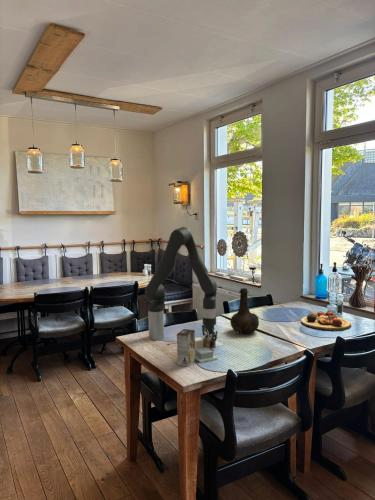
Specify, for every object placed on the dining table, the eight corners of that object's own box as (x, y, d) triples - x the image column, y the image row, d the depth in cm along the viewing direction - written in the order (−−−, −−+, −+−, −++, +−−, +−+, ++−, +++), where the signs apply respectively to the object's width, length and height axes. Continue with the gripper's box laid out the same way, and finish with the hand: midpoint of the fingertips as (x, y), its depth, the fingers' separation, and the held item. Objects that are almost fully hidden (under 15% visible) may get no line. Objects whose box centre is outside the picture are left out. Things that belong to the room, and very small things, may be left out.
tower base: (191, 356, 200) (191, 349, 200) (208, 353, 205) (208, 346, 204) (200, 362, 191) (200, 355, 191) (217, 359, 196) (217, 351, 195)
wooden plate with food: (359, 331, 240) (359, 318, 239) (308, 331, 240) (308, 318, 240) (340, 318, 271) (340, 307, 271) (295, 318, 272) (295, 307, 272)
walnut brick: (203, 346, 211) (203, 338, 210) (211, 345, 213) (211, 336, 213) (207, 349, 206) (207, 340, 206) (215, 348, 209) (215, 339, 208)
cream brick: (192, 347, 214) (192, 338, 214) (200, 345, 217) (200, 337, 216) (196, 350, 210) (196, 341, 209) (204, 348, 212) (204, 339, 212)
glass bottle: (258, 337, 230) (258, 291, 227) (229, 335, 234) (228, 291, 231) (259, 328, 247) (259, 286, 245) (231, 327, 251) (231, 285, 248)
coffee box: (184, 358, 198) (183, 328, 196) (195, 360, 195) (195, 329, 194) (177, 365, 189) (176, 333, 188) (189, 366, 187) (188, 335, 185)
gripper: (197, 313, 213) (197, 342, 215) (209, 320, 200) (209, 351, 202) (209, 312, 216) (209, 340, 218) (221, 318, 203) (221, 349, 205)
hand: (209, 345), depth 210 cm, fingers closed on walnut brick, 5 cm apart
